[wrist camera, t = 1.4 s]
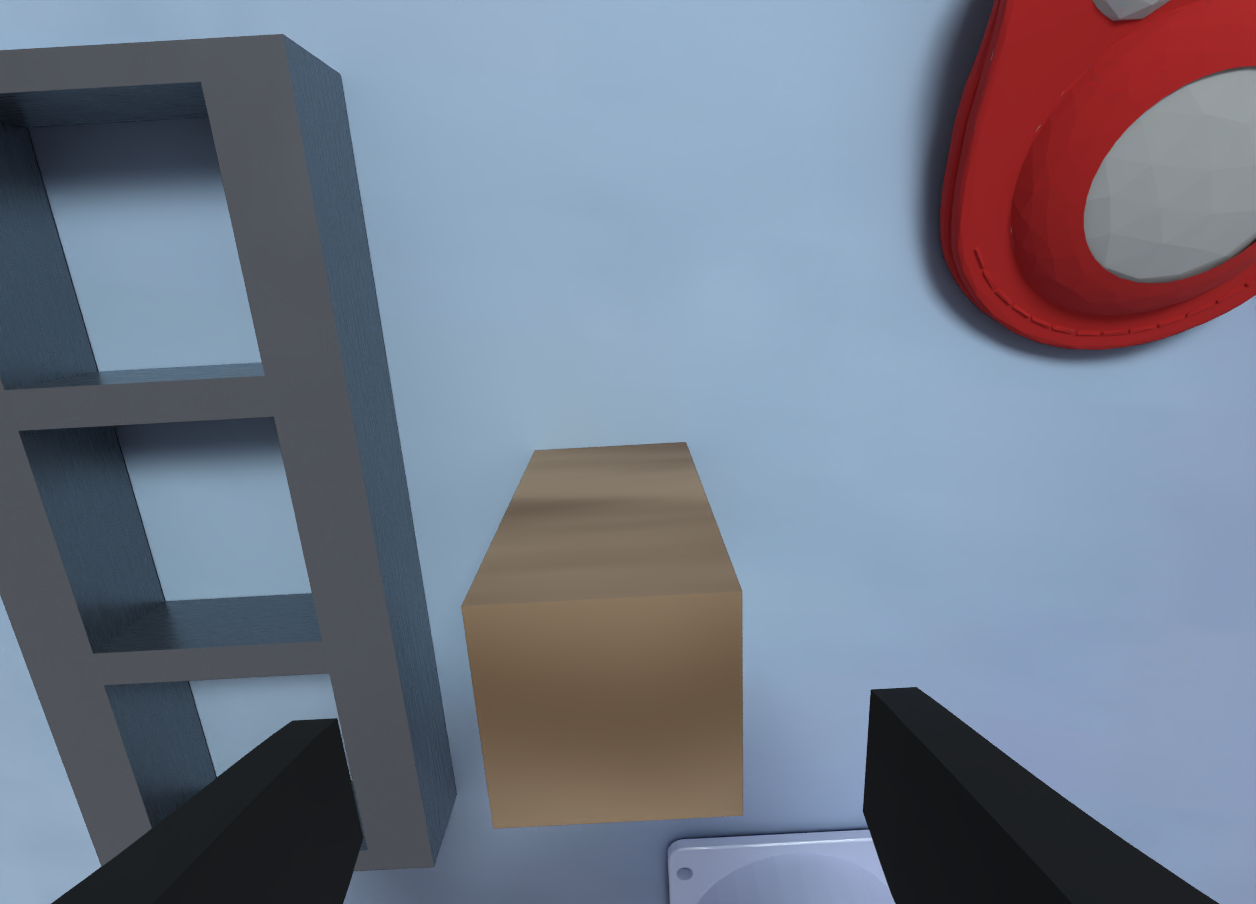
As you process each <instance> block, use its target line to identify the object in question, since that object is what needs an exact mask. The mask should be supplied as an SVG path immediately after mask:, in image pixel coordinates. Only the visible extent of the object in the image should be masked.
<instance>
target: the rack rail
mask: <svg viewBox="0 0 1256 904" xmlns="http://www.w3.org/2000/svg"><path fill="white" fill-rule="evenodd" d="M196 117H209V121H210V126H211V130H212V135H213V139H214V144H215V149H216V153H217V158H218V162H219V167H220V172H221V176H222V181H223V186H224V190H225V195H226V199H227V204H228V209H229V213H230V218H231V222H232V227H233V232H234V236H235V241H236V245H237V250H238V255H239V259H240V264H241V268H242V273H243V278H244V282H245V287H246V291H247V296H248V301H249V305H250V310H251V314H252V319H253V324H254V328H255V333H256V337H257V342H258V347H259V351H260V356H261V360H262V363H248V364H230V365H212V366H194V367H176V368H158V369H140V370H122V371H104V372H98V371H97V368H96V364H95V361H94V357H93V354H92V350H91V347H90V344H89V340H88V337H87V333H86V330H85V326H84V323H83V320H82V316H81V313H80V309H79V306H78V302H77V299H76V296H75V292H74V289H73V285H72V282H71V278H70V275H69V272H68V268H67V265H66V261H65V258H64V254H63V251H62V248H61V244H60V241H59V237H58V234H57V230H56V227H55V224H54V220H53V217H52V213H51V210H50V206H49V203H48V200H47V196H46V193H45V189H44V186H43V182H42V179H41V176H40V172H39V169H38V165H37V162H36V158H35V155H34V152H33V148H32V145H31V141H30V138H29V134H28V131H27V128H26V127H39V126H57V125H74V124H92V123H109V122H127V121H144V120H161V119H179V118H196ZM258 417H274V420H275V425H276V430H277V434H278V439H279V443H280V448H281V453H282V457H283V462H284V466H285V471H286V476H287V480H288V485H289V489H290V494H291V499H292V503H293V508H294V512H295V517H296V522H297V526H298V531H299V535H300V540H301V545H302V549H303V554H304V558H305V563H306V568H307V572H308V577H309V581H310V586H311V591H312V593H311V594H293V595H274V596H256V597H238V598H219V599H201V600H182V601H164V597H163V594H162V591H161V587H160V584H159V580H158V577H157V573H156V570H155V567H154V563H153V560H152V556H151V553H150V549H149V546H148V543H147V539H146V536H145V532H144V529H143V525H142V522H141V519H140V515H139V512H138V508H137V505H136V501H135V498H134V495H133V491H132V488H131V484H130V481H129V477H128V474H127V471H126V467H125V464H124V460H123V457H122V453H121V450H120V446H119V443H118V440H117V436H116V433H115V429H114V425H132V424H150V423H168V422H186V421H204V420H222V419H240V418H258ZM0 595H1V598H2V601H3V603H4V606H5V609H6V611H7V614H8V617H9V619H10V622H11V625H12V628H13V630H14V633H15V636H16V638H17V641H18V644H19V646H20V649H21V652H22V654H23V657H24V660H25V662H26V665H27V668H28V670H29V673H30V676H31V679H32V681H33V684H34V687H35V689H36V692H37V695H38V697H39V700H40V703H41V705H42V708H43V711H44V713H45V716H46V719H47V721H48V724H49V727H50V730H51V732H52V735H53V738H54V740H55V743H56V746H57V748H58V751H59V754H60V756H61V759H62V762H63V764H64V767H65V770H66V773H67V775H68V778H69V781H70V783H71V786H72V789H73V791H74V794H75V797H76V799H77V802H78V805H79V807H80V810H81V813H82V815H83V818H84V821H85V824H86V826H87V829H88V832H89V834H90V837H91V840H92V842H93V845H94V848H95V850H96V853H97V856H98V858H99V861H100V864H101V866H103V865H105V864H106V863H107V862H109V861H110V860H111V859H113V858H114V857H115V856H117V855H118V854H119V853H121V852H122V851H123V850H125V849H126V848H127V847H129V846H130V845H131V844H132V843H134V842H135V841H136V840H138V839H139V838H140V837H141V836H143V835H144V834H145V833H147V832H148V831H149V830H150V829H152V828H153V827H154V826H156V825H157V824H158V823H159V822H161V821H162V820H163V819H165V818H166V817H167V816H168V815H170V814H171V813H172V812H174V811H175V810H176V809H177V808H179V807H180V806H181V805H183V804H184V803H185V802H186V801H188V800H189V799H190V798H192V797H193V796H194V795H196V794H197V793H198V792H199V791H201V790H202V789H203V788H204V787H206V786H207V785H208V784H210V783H211V782H212V781H213V780H215V779H216V776H215V772H214V769H213V765H212V762H211V759H210V755H209V752H208V748H207V745H206V741H205V738H204V735H203V731H202V728H201V724H200V721H199V717H198V714H197V711H196V707H195V704H194V700H193V697H192V693H191V690H190V687H189V683H188V681H192V680H211V679H230V678H248V677H267V676H285V675H304V674H323V673H330V678H331V683H332V687H333V692H334V697H335V701H336V706H337V710H338V715H339V720H340V724H341V729H342V733H343V738H344V743H345V747H346V752H347V756H348V761H349V766H350V770H351V775H352V779H353V781H351V784H352V788H353V793H354V798H355V802H356V807H357V811H358V816H359V820H360V825H361V829H362V834H363V841H362V844H361V848H360V851H359V854H358V857H357V861H356V864H355V867H354V871H367V870H386V869H405V868H424V867H434V865H435V862H436V859H437V855H438V852H439V849H440V846H441V843H442V839H443V836H444V833H445V830H446V827H447V823H448V820H449V817H450V814H451V811H452V807H453V804H454V801H455V798H456V795H457V793H456V787H455V781H454V774H453V768H452V762H451V756H450V750H449V744H448V737H447V731H446V725H445V719H444V713H443V706H442V700H441V694H440V688H439V682H438V675H437V669H436V663H435V657H434V651H433V644H432V638H431V632H430V626H429V620H428V613H427V607H426V601H425V595H424V589H423V582H422V576H421V570H420V564H419V558H418V552H417V545H416V539H415V533H414V527H413V521H412V514H411V508H410V502H409V496H408V490H407V483H406V477H405V471H404V465H403V459H402V452H401V446H400V440H399V434H398V428H397V421H396V415H395V409H394V403H393V397H392V391H391V384H390V378H389V372H388V366H387V360H386V353H385V347H384V341H383V335H382V329H381V322H380V316H379V310H378V304H377V298H376V291H375V285H374V279H373V273H372V267H371V260H370V254H369V248H368V242H367V236H366V230H365V223H364V217H363V211H362V205H361V199H360V192H359V186H358V180H357V174H356V168H355V161H354V155H353V149H352V143H351V137H350V130H349V124H348V118H347V112H346V106H345V99H344V93H343V87H342V81H341V75H340V74H339V73H338V72H337V71H335V70H334V69H332V68H331V67H329V66H328V65H327V64H325V63H324V62H322V61H321V60H319V59H318V58H316V57H315V56H314V55H312V54H311V53H309V52H308V51H306V50H305V49H304V48H302V47H301V46H299V45H298V44H296V43H295V42H293V41H292V40H291V39H289V38H288V37H286V36H285V35H283V34H276V35H259V36H241V37H224V38H207V39H190V40H172V41H155V42H138V43H121V44H103V45H86V46H69V47H52V48H34V49H17V50H0Z"/></svg>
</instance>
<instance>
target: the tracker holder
mask: <svg viewBox="0 0 1256 904" xmlns="http://www.w3.org/2000/svg"><path fill="white" fill-rule="evenodd" d="M940 240H941V246H942V251H943V256H944V259H945V261H946V263H947V265H948V267H949V270H950V272H951V274H952V276H953V278H954V280H955V281H956V283H957V284H958V286H959V287H960V288H961V290H962V291H963V292H964V294H965V295H966V296H967V297H968V298H969V299H970V300H971V301H972V302H973V303H974V304H975V305H976V306H977V307H978V308H979V309H980V310H981V311H982V312H984V313H985V314H987V315H988V316H990V317H991V318H993V319H994V320H996V321H997V322H999V323H1000V324H1002V325H1003V326H1004V327H1006V328H1007V329H1009V330H1010V331H1012V332H1014V333H1016V334H1018V335H1021V336H1023V337H1026V338H1028V339H1031V340H1033V341H1036V342H1038V343H1042V344H1047V345H1051V346H1055V347H1059V348H1065V349H1086V350H1101V349H1111V348H1121V347H1128V346H1134V345H1140V344H1145V343H1149V342H1152V341H1156V340H1160V339H1163V338H1166V337H1169V336H1172V335H1175V334H1178V333H1181V332H1183V331H1186V330H1188V329H1191V328H1193V327H1196V326H1198V325H1201V324H1203V323H1206V322H1208V321H1210V320H1212V319H1214V318H1216V317H1218V316H1220V315H1222V314H1225V313H1227V312H1229V311H1230V310H1232V309H1234V308H1236V307H1237V306H1239V305H1241V304H1242V303H1244V302H1246V301H1247V300H1249V299H1250V298H1252V297H1253V296H1255V295H1256V0H994V4H993V8H992V11H991V14H990V18H989V21H988V24H987V27H986V30H985V34H984V37H983V40H982V43H981V45H980V48H979V51H978V54H977V56H976V59H975V62H974V64H973V67H972V69H971V72H970V74H969V77H968V79H967V81H966V84H965V87H964V90H963V94H962V97H961V101H960V104H959V108H958V111H957V115H956V118H955V122H954V126H953V132H952V137H951V143H950V148H949V153H948V159H947V164H946V169H945V175H944V180H943V189H942V198H941V207H940Z"/></svg>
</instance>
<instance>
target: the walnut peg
mask: <svg viewBox="0 0 1256 904" xmlns="http://www.w3.org/2000/svg"><path fill="white" fill-rule="evenodd" d="M461 608H462V614H463V621H464V628H465V635H466V642H467V649H468V656H469V663H470V670H471V677H472V684H473V691H474V698H475V705H476V712H477V719H478V726H479V733H480V740H481V746H482V753H483V760H484V767H485V774H486V781H487V788H488V795H489V802H490V809H491V816H492V823H493V829H495V828H515V827H534V826H553V825H572V824H591V823H610V822H629V821H648V820H667V819H686V818H705V817H724V816H743V676H742V589H741V587H740V584H739V581H738V579H737V576H736V573H735V571H734V568H733V565H732V563H731V560H730V557H729V555H728V552H727V550H726V547H725V544H724V542H723V539H722V536H721V534H720V531H719V528H718V526H717V523H716V520H715V518H714V515H713V512H712V510H711V507H710V505H709V502H708V499H707V497H706V494H705V491H704V489H703V486H702V483H701V481H700V478H699V475H698V473H697V470H696V467H695V465H694V462H693V459H692V457H691V454H690V452H689V449H688V446H687V444H686V442H679V443H661V444H642V445H624V446H606V447H588V448H570V449H551V450H535V451H534V453H533V455H532V458H531V460H530V462H529V464H528V466H527V468H526V470H525V472H524V475H523V477H522V479H521V481H520V483H519V485H518V487H517V489H516V492H515V494H514V496H513V498H512V500H511V502H510V504H509V506H508V508H507V511H506V513H505V515H504V517H503V519H502V521H501V523H500V525H499V528H498V530H497V532H496V534H495V536H494V538H493V540H492V542H491V545H490V547H489V549H488V551H487V553H486V555H485V557H484V559H483V561H482V564H481V566H480V568H479V570H478V572H477V574H476V576H475V578H474V581H473V583H472V585H471V587H470V589H469V591H468V593H467V595H466V598H465V600H464V602H463V604H462V606H461Z"/></svg>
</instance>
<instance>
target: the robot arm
mask: <svg viewBox="0 0 1256 904" xmlns="http://www.w3.org/2000/svg"><path fill="white" fill-rule="evenodd" d="M863 813H864V816H865V819H866V822H867V825H868V828H869V830H851V831H832V832H813V833H794V834H775V835H756V836H737V837H718V838H699V839H682V840H677V841H675V842H674V843H672V844H671V845H670V847H669V848H668V874H669V895H670V904H1219V903H1217V902H1216V901H1214V900H1213V899H1211V898H1210V897H1208V896H1207V895H1205V894H1203V893H1202V892H1200V891H1199V890H1197V889H1196V888H1194V887H1193V886H1191V885H1190V884H1188V883H1187V882H1185V881H1184V880H1182V879H1181V878H1179V877H1178V876H1177V875H1175V874H1174V873H1172V872H1171V871H1169V870H1168V869H1166V868H1165V867H1163V866H1162V865H1160V864H1159V863H1157V862H1156V861H1154V860H1153V859H1151V858H1150V857H1148V856H1147V855H1145V854H1144V853H1142V852H1141V851H1139V850H1138V849H1136V848H1135V847H1133V846H1132V845H1130V844H1129V843H1128V842H1126V841H1125V840H1123V839H1122V838H1120V837H1119V836H1117V835H1116V834H1115V833H1113V832H1112V831H1110V830H1109V829H1108V828H1106V827H1105V826H1103V825H1102V824H1100V823H1099V822H1098V821H1096V820H1095V819H1093V818H1092V817H1090V816H1089V815H1088V814H1086V813H1085V812H1083V811H1082V810H1081V809H1079V808H1078V807H1077V806H1075V805H1074V804H1072V803H1071V802H1070V801H1068V800H1067V799H1065V798H1064V797H1063V796H1061V795H1060V794H1059V793H1057V792H1056V791H1055V790H1053V789H1052V788H1050V787H1049V786H1048V785H1046V784H1045V783H1044V782H1042V781H1041V780H1040V779H1038V778H1037V777H1035V776H1034V775H1033V774H1031V773H1030V772H1029V771H1027V770H1026V769H1025V768H1023V767H1022V766H1021V765H1019V764H1018V763H1017V762H1015V761H1014V760H1013V759H1011V758H1010V757H1009V756H1007V755H1006V754H1005V753H1004V752H1002V751H1001V750H1000V749H998V748H997V747H996V746H994V745H993V744H992V743H990V742H989V741H988V740H986V739H985V738H984V737H982V736H981V735H980V734H978V733H977V732H976V731H975V730H973V729H972V728H971V727H969V726H968V725H967V724H965V723H964V722H963V721H961V720H960V719H959V718H957V717H956V716H955V715H954V714H952V713H951V712H950V711H948V710H947V709H946V708H944V707H943V706H942V705H940V704H939V703H938V702H936V701H935V700H934V699H932V698H931V697H929V696H928V695H927V694H925V693H924V692H922V691H921V690H920V689H918V688H917V687H910V688H892V689H873V690H871V695H870V710H869V726H868V741H867V757H866V772H865V788H864V803H863ZM362 841H363V834H362V829H361V825H360V820H359V816H358V811H357V807H356V802H355V798H354V793H353V788H352V784H351V779H350V775H349V770H348V766H347V761H346V757H345V752H344V748H343V743H342V738H341V734H340V729H339V725H338V720H337V718H335V719H316V720H297V721H291V722H290V723H288V724H287V725H286V726H284V727H283V728H281V729H280V730H279V731H277V732H276V733H274V734H273V735H272V736H270V737H269V738H268V739H266V740H265V741H264V742H262V743H261V744H260V745H258V746H257V747H256V748H254V749H253V750H252V751H250V752H249V753H248V754H247V755H245V756H244V757H243V758H241V759H240V760H239V761H238V762H236V763H235V764H234V765H232V766H231V767H230V768H229V769H227V770H226V771H225V772H224V773H222V774H221V775H220V776H218V777H217V778H216V779H215V780H213V781H212V782H211V783H210V784H208V785H207V786H206V787H204V788H203V789H202V790H201V791H199V792H198V793H197V794H196V795H194V796H193V797H192V798H190V799H189V800H188V801H186V802H185V803H184V804H183V805H181V806H180V807H179V808H177V809H176V810H175V811H174V812H172V813H171V814H170V815H168V816H167V817H166V818H165V819H163V820H162V821H161V822H159V823H158V824H157V825H156V826H154V827H153V828H152V829H150V830H149V831H148V832H147V833H145V834H144V835H143V836H141V837H140V838H139V839H138V840H136V841H135V842H134V843H132V844H131V845H130V846H129V847H127V848H126V849H125V850H123V851H122V852H121V853H119V854H118V855H117V856H115V857H114V858H113V859H111V860H110V861H109V862H107V863H106V864H105V865H103V866H102V867H100V868H99V869H98V870H96V871H95V872H94V873H92V874H91V875H90V876H88V877H87V878H85V879H84V880H83V881H81V882H80V883H79V884H77V885H76V886H75V887H73V888H72V889H70V890H69V891H68V892H66V893H65V894H64V895H62V896H61V897H60V898H58V899H57V900H56V901H54V902H53V903H51V904H343V902H344V899H345V896H346V893H347V890H348V887H349V884H350V880H351V877H352V874H353V871H354V867H355V864H356V861H357V857H358V854H359V851H360V848H361V844H362ZM684 867H686V868H685V869H681V868H684Z"/></svg>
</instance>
